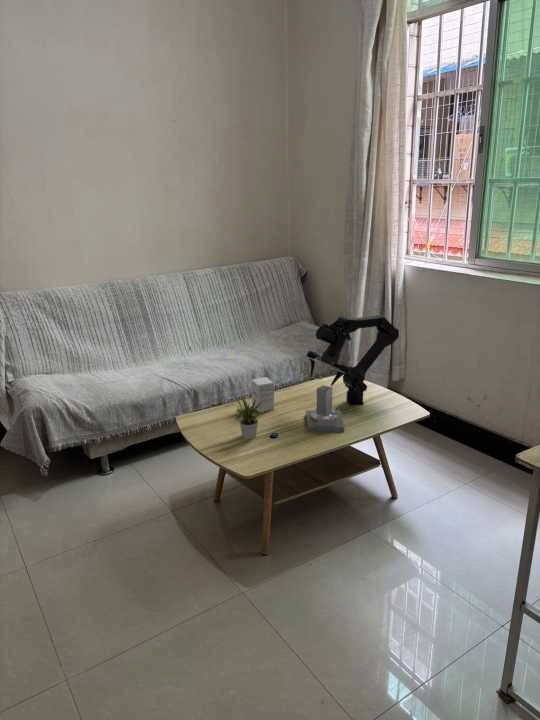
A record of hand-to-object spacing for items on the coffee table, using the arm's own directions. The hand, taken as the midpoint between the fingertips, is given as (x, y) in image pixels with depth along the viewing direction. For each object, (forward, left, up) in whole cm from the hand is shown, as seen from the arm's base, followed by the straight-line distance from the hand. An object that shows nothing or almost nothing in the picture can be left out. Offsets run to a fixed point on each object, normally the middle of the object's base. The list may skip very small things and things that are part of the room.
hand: (321, 381), depth 230 cm
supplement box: (+24, -3, -14) cm, 28 cm away
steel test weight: (-1, +10, -10) cm, 14 cm away
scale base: (-1, +12, -13) cm, 18 cm away
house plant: (+30, +23, -14) cm, 40 cm away
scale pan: (-1, +10, -11) cm, 15 cm away
